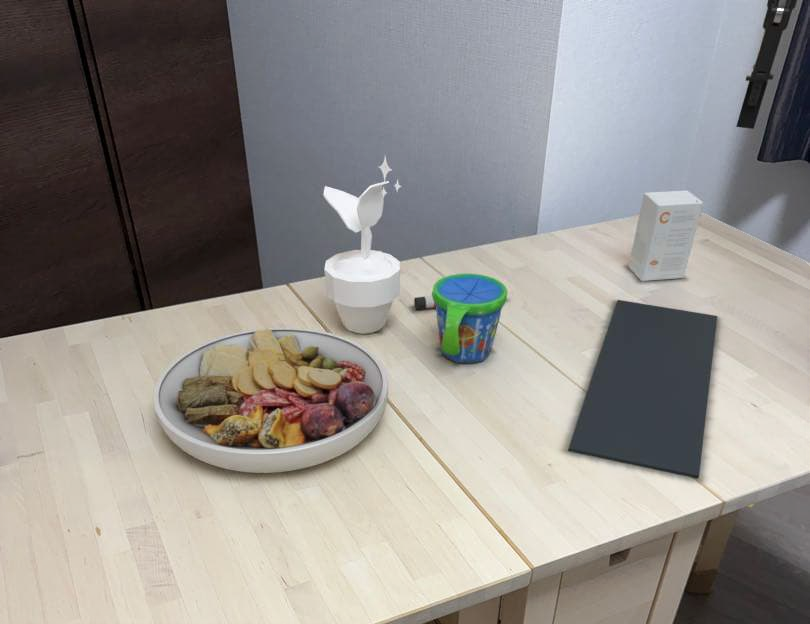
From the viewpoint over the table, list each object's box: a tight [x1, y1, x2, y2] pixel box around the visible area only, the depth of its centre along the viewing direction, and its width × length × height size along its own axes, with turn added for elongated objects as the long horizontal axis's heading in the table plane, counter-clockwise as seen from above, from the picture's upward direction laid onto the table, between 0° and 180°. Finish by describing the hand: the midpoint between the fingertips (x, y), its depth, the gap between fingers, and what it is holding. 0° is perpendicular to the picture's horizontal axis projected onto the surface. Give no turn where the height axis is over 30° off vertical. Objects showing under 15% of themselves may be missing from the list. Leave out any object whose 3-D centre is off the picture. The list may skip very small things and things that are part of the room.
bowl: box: [152, 326, 389, 474], centre depth 97 cm, size 30×30×8 cm
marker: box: [413, 295, 436, 311], centre depth 123 cm, size 15×2×2 cm, turn 104°
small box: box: [628, 189, 704, 282], centre depth 129 cm, size 8×6×13 cm
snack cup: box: [431, 273, 509, 364], centre depth 109 cm, size 16×10×10 cm
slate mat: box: [567, 299, 718, 480], centre depth 107 cm, size 16×44×1 cm, turn 160°
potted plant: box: [323, 155, 403, 334], centre depth 109 cm, size 13×12×25 cm
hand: (745, 126), depth 121 cm, fingers closed
